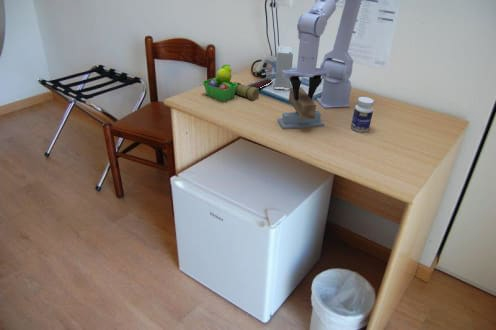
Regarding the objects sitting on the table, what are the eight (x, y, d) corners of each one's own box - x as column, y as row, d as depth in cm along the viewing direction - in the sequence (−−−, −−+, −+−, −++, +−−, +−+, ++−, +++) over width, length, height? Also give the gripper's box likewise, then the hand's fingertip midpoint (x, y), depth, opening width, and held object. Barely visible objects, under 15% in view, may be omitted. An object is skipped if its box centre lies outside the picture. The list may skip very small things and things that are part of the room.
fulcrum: (317, 118, 135) (319, 108, 133) (324, 126, 130) (325, 116, 128) (277, 120, 132) (278, 110, 131) (282, 129, 128) (283, 118, 126)
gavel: (262, 72, 163) (283, 77, 158) (261, 83, 165) (282, 89, 160) (230, 83, 148) (252, 89, 143) (229, 95, 150) (251, 102, 145)
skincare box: (274, 82, 162) (277, 45, 154) (289, 83, 162) (293, 46, 154) (274, 90, 155) (276, 51, 147) (289, 91, 155) (293, 52, 147)
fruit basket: (201, 94, 149) (200, 64, 143) (219, 88, 154) (218, 59, 148) (223, 104, 143) (223, 73, 136) (240, 97, 148) (241, 67, 142)
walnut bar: (300, 99, 136) (301, 87, 133) (314, 118, 124) (316, 105, 122) (288, 100, 135) (290, 87, 133) (301, 119, 124) (303, 105, 121)
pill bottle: (356, 133, 127) (362, 104, 122) (347, 125, 132) (353, 96, 126) (372, 131, 128) (378, 102, 123) (363, 123, 133) (369, 95, 128)
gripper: (288, 61, 115) (284, 105, 123) (335, 59, 118) (329, 102, 125) (281, 53, 121) (278, 96, 128) (327, 52, 124) (321, 93, 131)
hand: (302, 98), depth 127 cm, fingers closed on walnut bar, 4 cm apart
